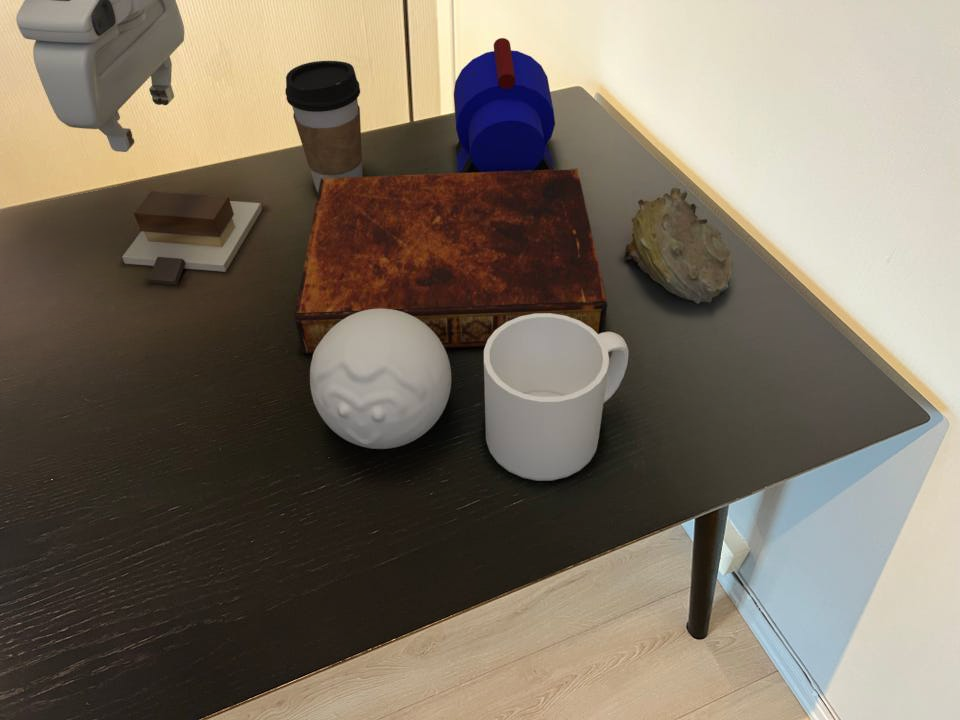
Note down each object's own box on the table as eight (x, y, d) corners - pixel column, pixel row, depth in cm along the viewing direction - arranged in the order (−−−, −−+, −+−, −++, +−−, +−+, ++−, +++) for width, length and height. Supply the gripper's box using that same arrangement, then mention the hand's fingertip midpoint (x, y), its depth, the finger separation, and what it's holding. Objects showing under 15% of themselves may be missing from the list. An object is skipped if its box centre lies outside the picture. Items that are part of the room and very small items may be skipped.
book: (303, 355, 78) (293, 318, 75) (327, 213, 95) (321, 177, 92) (602, 343, 79) (607, 305, 75) (574, 204, 96) (577, 168, 92)
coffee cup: (355, 210, 96) (337, 93, 85) (293, 199, 98) (267, 83, 87) (384, 174, 101) (369, 60, 90) (324, 163, 103) (303, 51, 93)
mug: (513, 498, 66) (514, 418, 59) (468, 414, 73) (464, 333, 65) (644, 450, 69) (661, 368, 62) (590, 374, 76) (599, 292, 68)
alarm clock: (546, 139, 106) (551, 27, 96) (558, 190, 98) (565, 74, 87) (455, 143, 106) (450, 32, 95) (459, 196, 97) (454, 79, 87)
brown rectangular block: (145, 242, 90) (133, 213, 88) (161, 219, 94) (150, 190, 91) (223, 248, 89) (213, 219, 87) (237, 225, 92) (228, 196, 90)
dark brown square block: (151, 283, 87) (148, 279, 86) (160, 260, 88) (157, 256, 88) (177, 285, 87) (174, 281, 86) (185, 262, 88) (182, 258, 87)
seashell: (656, 334, 81) (679, 263, 73) (597, 242, 90) (611, 169, 82) (749, 310, 84) (781, 239, 76) (683, 223, 92) (705, 150, 85)
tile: (124, 263, 89) (121, 256, 89) (169, 203, 98) (167, 196, 97) (225, 272, 88) (223, 265, 87) (262, 209, 96) (260, 202, 96)
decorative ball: (304, 468, 69) (276, 373, 60) (344, 369, 77) (324, 273, 68) (439, 485, 67) (430, 390, 59) (465, 383, 75) (460, 286, 67)
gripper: (118, -57, 79) (159, 75, 89) (3, 28, 65) (66, 175, 75) (178, -54, 78) (213, 79, 88) (75, 32, 64) (129, 180, 74)
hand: (145, 124), depth 81 cm, fingers open, 8 cm apart
